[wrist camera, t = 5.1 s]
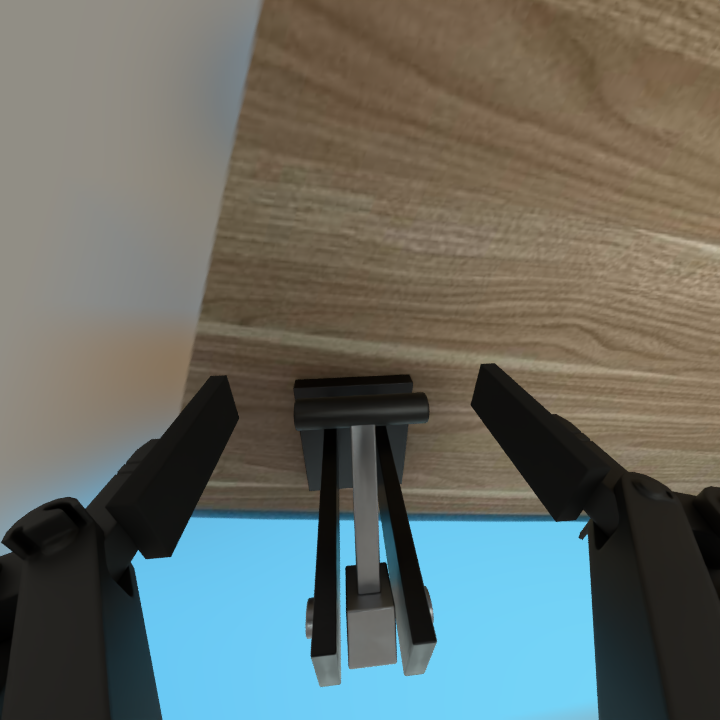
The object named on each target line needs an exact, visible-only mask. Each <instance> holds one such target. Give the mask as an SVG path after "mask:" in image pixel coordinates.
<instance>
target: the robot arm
mask: <svg viewBox="0 0 720 720" xmlns="http://www.w3.org/2000/svg"><path fill="white" fill-rule="evenodd" d="M471 406H472V408H473V409H474V410H475V412H476V413H477V415H478V416H479V417H480V419H481V420H482V421H483V423H484V424H485V425H486V427H487V428H488V430H489V431H490V432H491V434H492V435H493V436H494V438H495V439H496V441H497V442H498V443H499V445H500V446H501V447H502V449H503V450H504V452H505V453H506V454H507V456H508V457H509V458H510V460H511V461H512V462H513V464H514V465H515V467H516V468H517V469H518V471H519V472H520V473H521V475H522V476H523V478H524V479H525V480H526V482H527V483H528V484H529V486H530V487H531V488H532V490H533V491H534V493H535V494H536V495H537V497H538V498H539V499H540V501H541V502H542V504H543V505H544V506H545V508H546V509H547V510H548V512H549V513H550V514H551V516H552V517H553V519H554V520H555V521H556V522H560V521H571V520H576V519H577V518H578V516H579V515H580V513H581V512H582V510H584V511H585V512H586V513H587V514H588V515H589V517H590V518H591V519H590V520H589V521H588V523H587V524H586V526H585V527H584V528H583V530H582V531H581V532H580V535H579V538H580V539H582V540H583V538H584V537H585V536H586V535H587V534H588V541H589V542H588V543H589V560H590V577H591V594H592V610H593V628H594V645H595V662H596V679H597V696H598V713H599V720H720V488H719V487H712V486H710V487H707V488H704V489H703V490H702V491H701V492H700V493H699V494H698V495H697V496H694V495H689V494H683V493H678V492H673V491H671V490H670V489H669V488H668V487H667V486H665V485H664V484H662V483H660V482H659V481H657V480H655V479H653V478H651V477H649V476H647V475H644V474H640V473H636V472H628V471H627V470H625V469H624V468H623V467H622V466H621V465H620V464H618V463H617V462H616V461H615V460H614V459H613V458H611V457H610V456H609V455H608V454H607V453H606V452H604V451H603V450H602V449H601V448H600V447H599V446H597V445H596V444H595V443H594V442H593V441H590V439H589V438H588V437H587V436H586V435H585V434H584V433H581V431H580V430H579V429H578V428H577V427H575V426H574V425H573V424H572V423H571V422H569V421H568V420H566V419H564V418H562V417H560V416H559V415H557V414H551V413H550V412H549V411H547V410H546V409H545V408H544V407H543V406H542V405H541V404H540V403H539V402H537V401H536V400H535V399H534V398H533V397H532V396H531V395H530V394H528V393H527V392H526V391H525V390H524V389H523V388H522V387H521V386H520V385H518V384H517V383H516V382H515V381H514V380H513V379H512V378H511V377H510V376H508V375H507V374H506V373H505V372H504V371H503V370H502V369H501V368H499V367H498V366H497V365H496V364H495V363H491V364H481V366H480V370H479V374H478V378H477V382H476V386H475V390H474V394H473V398H472V402H471ZM238 420H239V416H238V412H237V409H236V405H235V402H234V399H233V395H232V392H231V389H230V385H229V382H228V378H227V375H225V376H210V378H209V379H208V380H207V381H206V382H205V384H204V385H203V386H202V387H201V389H200V390H199V391H198V392H197V394H196V395H195V396H194V397H193V399H192V400H191V401H190V402H189V403H188V405H187V406H186V407H185V408H184V410H183V411H182V412H181V413H180V415H179V416H178V417H177V418H176V419H175V421H174V422H173V423H172V424H171V426H170V427H169V428H168V429H167V431H166V432H165V433H164V434H163V435H162V437H161V438H160V439H151V440H150V441H149V442H147V443H146V444H144V445H143V446H142V447H140V448H139V449H137V451H135V453H134V454H133V455H132V456H131V458H129V460H128V461H127V462H126V464H124V465H123V466H122V467H121V469H120V470H119V471H118V473H117V475H115V476H114V477H113V478H112V479H111V480H110V481H109V482H108V484H107V485H106V486H105V487H104V488H103V489H102V490H101V492H100V493H99V494H98V495H97V496H96V498H94V500H93V501H92V502H91V503H90V504H89V505H88V506H87V508H86V509H85V508H84V507H83V506H82V505H81V504H80V502H79V501H78V500H77V499H75V498H71V497H65V498H60V499H56V500H53V501H51V502H48V503H45V504H43V505H41V506H39V507H38V508H36V509H34V510H32V511H30V512H29V513H28V514H26V515H25V516H24V517H22V518H21V519H20V520H18V521H17V522H16V523H15V524H14V525H13V526H12V527H11V528H10V529H9V530H8V531H7V532H6V534H5V536H4V538H3V540H2V542H1V543H2V544H4V545H5V546H6V547H8V548H9V549H10V550H11V551H12V552H11V553H8V554H6V555H3V556H0V720H162V715H161V709H160V704H159V699H158V693H157V688H156V683H155V677H154V672H153V666H152V661H151V656H150V650H149V645H148V640H147V634H146V629H145V624H144V618H143V613H142V608H141V602H140V597H139V591H138V586H137V581H136V576H135V570H134V567H133V565H132V564H131V560H132V559H133V557H134V556H135V554H136V552H137V551H138V550H139V551H140V552H141V554H142V555H143V556H144V558H145V559H153V558H164V557H171V556H172V553H173V552H174V549H175V548H176V545H177V543H178V541H179V539H180V537H181V535H182V533H183V531H184V529H185V527H186V525H187V523H188V521H189V519H190V517H191V515H192V513H193V511H194V509H195V507H196V505H197V503H198V501H199V499H200V497H201V495H202V493H203V491H204V489H205V487H206V485H207V483H208V481H209V479H210V477H211V475H212V472H213V470H214V468H215V466H216V464H217V462H218V460H219V458H220V456H221V454H222V452H223V450H224V448H225V446H226V444H227V442H228V440H229V438H230V436H231V434H232V432H233V430H234V428H235V426H236V424H237V422H238Z"/></svg>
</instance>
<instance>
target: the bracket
mask: <svg viewBox="0 0 720 720" xmlns="http://www.w3.org/2000/svg"><path fill="white" fill-rule="evenodd" d="M412 388H413V381H412V379H411V377H410V375H390V376H368V377H347V378H325V379H304V380H295V384H294V388H293V389H294V396H295V401H296V399H301V398H320V397H339V396H359V395H378V394H398V393H412ZM407 432H408V424H403V425H386V426H375V438H376V467H377V495H378V502H379V509H380V515H381V522H382V528H383V536H384V542H385V549H386V556H387V562H388V570H389V576H390V583H391V588H392V593H393V598H394V603H395V615H396V624H397V630H398V636H399V644H400V651H401V657H402V664H403V671H404V675H405V676H410V675H418V674H424V672H425V670H426V668H427V665H428V662H429V660H430V658H431V655H432V653H433V650H434V648H435V645H436V643H437V639H436V634H435V630H434V626H433V620H434V619H433V618H434V617H433V608H432V603H431V599H430V595H429V592H428V589H427V588H426V586H424V584H423V580H422V575H421V571H420V567H419V563H418V559H417V555H416V550H415V546H414V542H413V538H412V534H411V529H410V525H409V521H408V517H407V512H406V508H405V504H404V500H403V496H402V491H401V487H400V484H402V475H403V467H404V458H405V449H406V441H407ZM300 434H301V440H302V447H303V453H304V459H305V466H306V472H307V479H308V485H309V491H315V490H320V506H319V524H318V540H317V557H316V558H317V559H316V573H315V590H314V597H313V598H309V599H308V602H307V609H306V637H307V639H310V638H312V640H311V659H312V662H313V665H314V669H315V672H316V675H317V679H318V682H319V685H320V687H323V686H332V685H339V684H341V642H340V641H341V640H340V639H341V635H340V541H339V540H340V537H339V536H340V532H339V530H340V529H339V489H342V488H353V479H352V454H351V430H350V428H336V429H319V430H302V431H300Z"/></svg>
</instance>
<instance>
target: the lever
mask: <svg viewBox="0 0 720 720" xmlns="http://www.w3.org/2000/svg"><path fill="white" fill-rule="evenodd" d="M428 419H429V403H428V399H427V397H426V395H425V393H423V392H417V393H398V394H378V395H359V396H339V397H320V398H301V399H296V401H295V405H294V424H295V428H296V430H298V431H302V430H319V429H336V428H350V430H351V454H352V479H353V503H354V526H355V527H354V528H355V551H356V565H351V566H346V568H345V570H346V619H347V642H348V665H349V669H357V668H365V667H372V666H380V665H389V664H396V662H397V652H396V651H397V649H396V615H395V603H394V598H393V593H392V588H391V583H390V578H389V573H388V569H387V564H386V563H385V562H383V563H380V556H379V528H378V527H379V526H378V497H377V467H376V438H375V426H386V425H403V424H419V423H426V422H428Z"/></svg>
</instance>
